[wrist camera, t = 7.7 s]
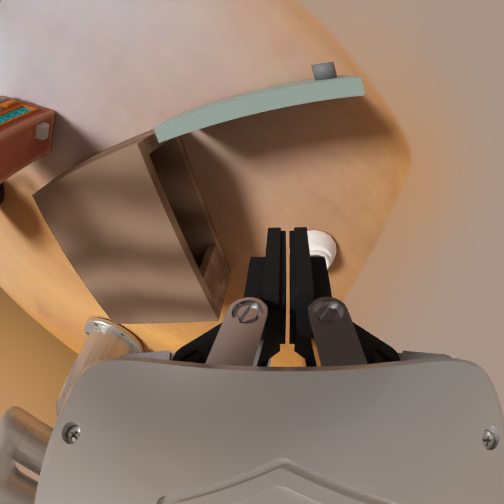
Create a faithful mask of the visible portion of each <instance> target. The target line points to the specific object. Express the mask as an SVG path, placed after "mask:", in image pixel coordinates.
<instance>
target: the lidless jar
mask: <svg viewBox="0 0 504 504" xmlns="http://www.w3.org/2000/svg"><path fill="white" fill-rule="evenodd" d="M307 234H308V242H309V250H310V256H317V255H320V256H323V257H325V259H326V265H327V270H328V268H329V266H330V265H331V264H332V262H333V260H334V258H335V256H336V253H337V251H336V243H335V242H334V240H333V239H332V237H331V236H330V235H328V234H326V233H325V232H322V231H317V230H311V231H307ZM289 253H290V249H289Z"/></svg>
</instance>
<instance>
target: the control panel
mask: <svg viewBox="0 0 504 504" xmlns="http://www.w3.org/2000/svg"><path fill="white" fill-rule="evenodd" d="M54 118H55V111H53V110H50V109H46V108H43V107H40V106H37V105H33V104H30V103H26V102H23V101H19V100H16V99H12V98H8V97H4V96H0V184H1V183H2V182H3V181H5V180H6V179H8V178H9V177H11V176H12V175H13V174H15V173H16V172H18V171H19V170H21V169H22V168H24V167H26V166H27V165H29V164H30V163H32V162H33V161H35V160H37V159H38V158H40V157H42V156H43V155H45V154H47V153H48V152H50V150H51V141H52V132H53V125H54Z"/></svg>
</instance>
